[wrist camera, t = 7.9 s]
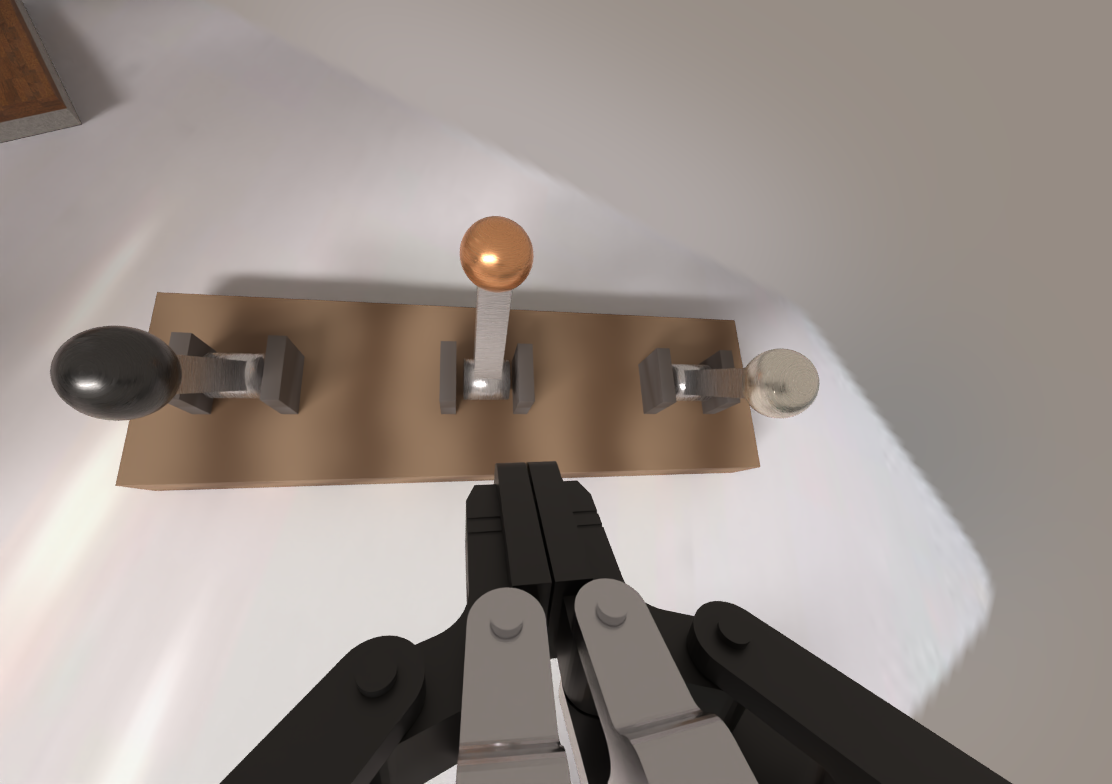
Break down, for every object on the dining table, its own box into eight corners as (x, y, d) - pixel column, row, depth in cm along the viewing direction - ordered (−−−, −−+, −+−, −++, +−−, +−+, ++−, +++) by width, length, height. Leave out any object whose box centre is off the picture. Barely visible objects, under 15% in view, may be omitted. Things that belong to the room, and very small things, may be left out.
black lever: (215, 405, 23) (18, 425, 13) (215, 345, 23) (18, 317, 13) (281, 405, 24) (144, 424, 13) (281, 347, 24) (144, 322, 13)
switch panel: (155, 490, 24) (67, 479, 18) (188, 317, 27) (120, 263, 21) (732, 472, 31) (791, 460, 26) (711, 337, 34) (760, 301, 29)
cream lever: (655, 406, 28) (771, 421, 18) (656, 357, 28) (773, 344, 18) (699, 406, 29) (835, 421, 18) (700, 359, 29) (838, 347, 18)
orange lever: (457, 413, 24) (460, 241, 16) (458, 371, 26) (460, 197, 18) (513, 413, 25) (542, 248, 17) (509, 372, 27) (534, 205, 19)
